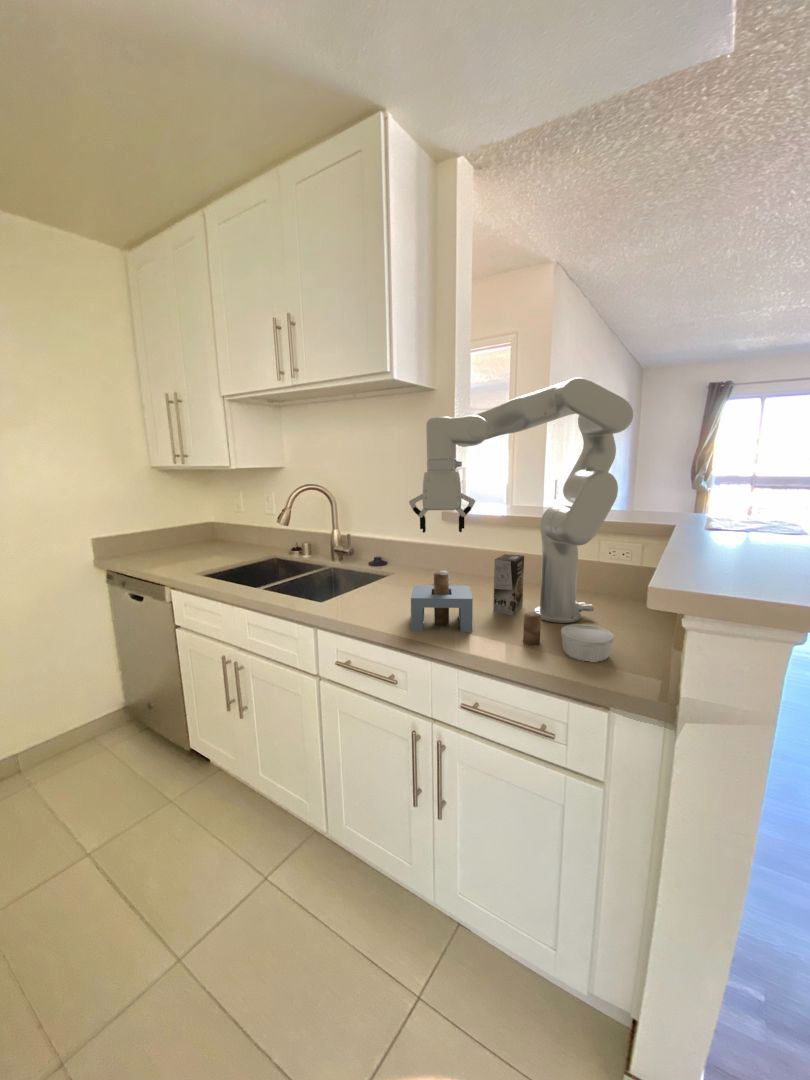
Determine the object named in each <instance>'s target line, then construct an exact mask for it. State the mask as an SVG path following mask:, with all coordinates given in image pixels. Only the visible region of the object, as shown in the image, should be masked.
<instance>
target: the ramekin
mask: <svg viewBox="0 0 810 1080" xmlns="http://www.w3.org/2000/svg"><path fill="white" fill-rule="evenodd" d="M560 635H561V639H562V649H563V651H564V652H565V654H566V655H567V656H568V655H569V656H568V657H570V658H572V659H574V658H575V659H574V660H576V659H578V660H577V661H580V660H583V661H582V662H584V661H601V662H603V661H602V660H604V661H606V659H608V657H609V656H610V653H611V649H612V645H613V643H614V642H615V640H614V639H615V635H614V634H613V633H612V632H611V631H609V630H608V629H605V628H603V627H599V626H596V625H590V624H583V623H582V624H581V623H580V624H579V623H572V624H568V625H565V626H563V627H562V628H561V630H560Z"/></svg>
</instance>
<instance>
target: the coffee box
mask: <svg viewBox="0 0 810 1080" xmlns="http://www.w3.org/2000/svg"><path fill="white" fill-rule="evenodd" d="M524 567H525V555H523V554H522V555H521V554H519V555H518V554H505V553H504V554H502V555H500V556H499V557H497V558H495V559H494V568H493V569H494V570H493V573H494V574H493V575H494V577H493V579H494V580H493V604H492V605H493V609H492V610H493V613H499V614H504V615H508V616H514V615H515V614H516V613H517V612H518V611H519V610H520V609H522V608H523V605H524V604H523V601H524V599H523V598H524V575H525V574H524V570H525V568H524Z"/></svg>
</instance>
